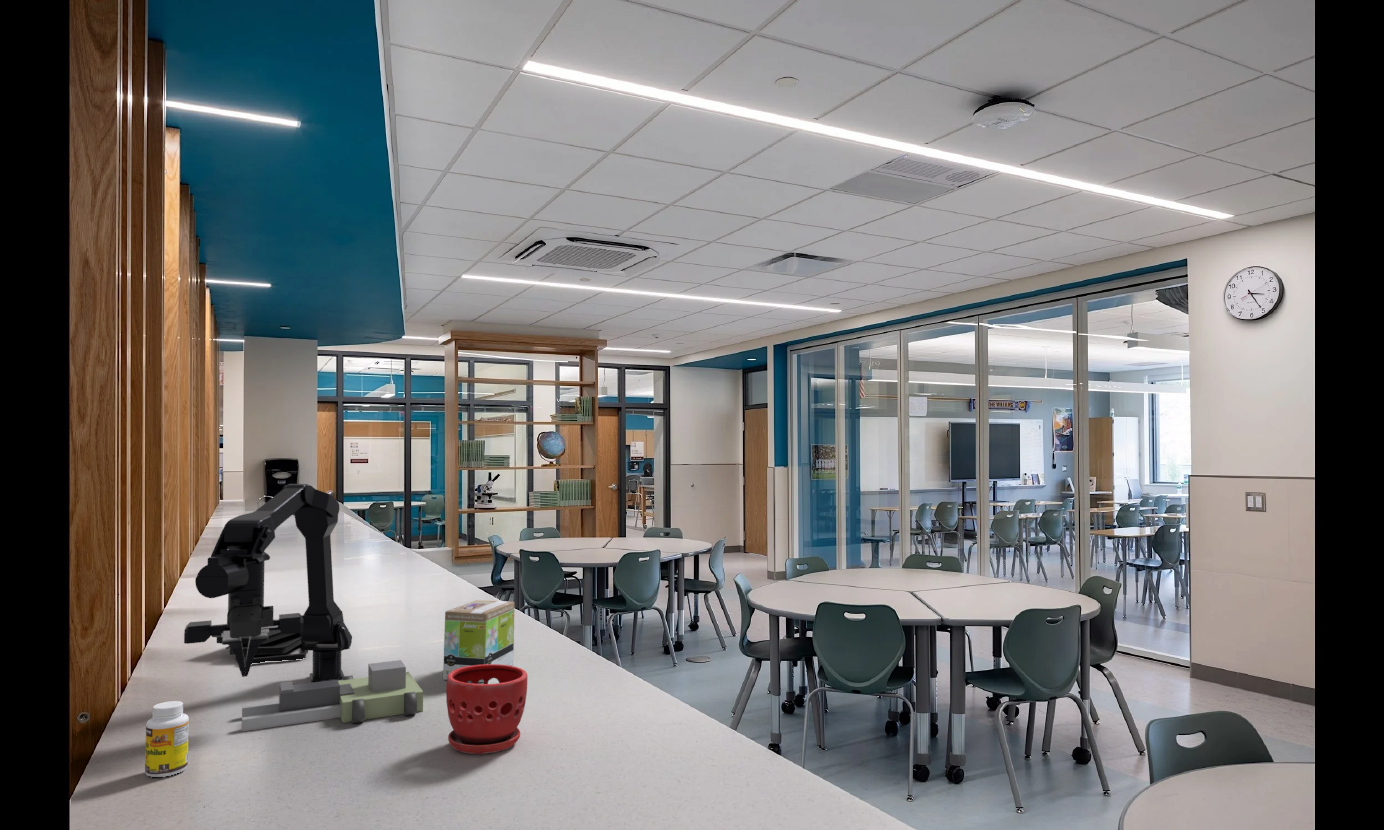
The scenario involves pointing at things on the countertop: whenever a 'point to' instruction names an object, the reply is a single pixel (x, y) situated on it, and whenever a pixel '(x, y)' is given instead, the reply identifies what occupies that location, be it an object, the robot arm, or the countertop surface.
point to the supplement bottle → (166, 740)
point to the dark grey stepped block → (308, 695)
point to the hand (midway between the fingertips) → (244, 675)
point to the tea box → (478, 635)
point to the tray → (272, 646)
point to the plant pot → (485, 707)
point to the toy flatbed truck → (349, 700)
